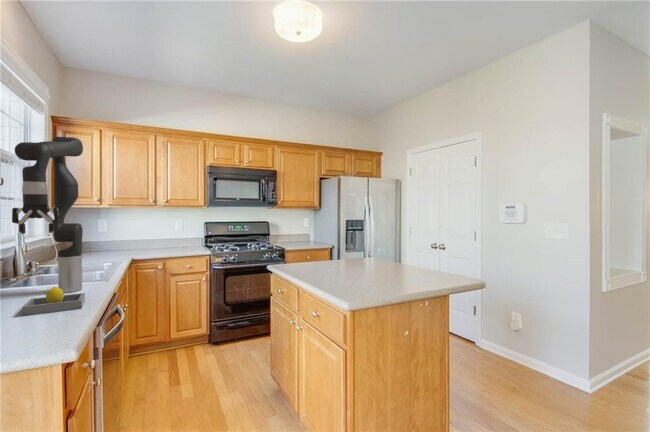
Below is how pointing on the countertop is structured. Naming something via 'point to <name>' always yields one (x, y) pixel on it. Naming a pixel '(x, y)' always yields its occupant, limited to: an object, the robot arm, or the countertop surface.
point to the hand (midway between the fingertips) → (37, 233)
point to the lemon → (54, 295)
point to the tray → (53, 304)
